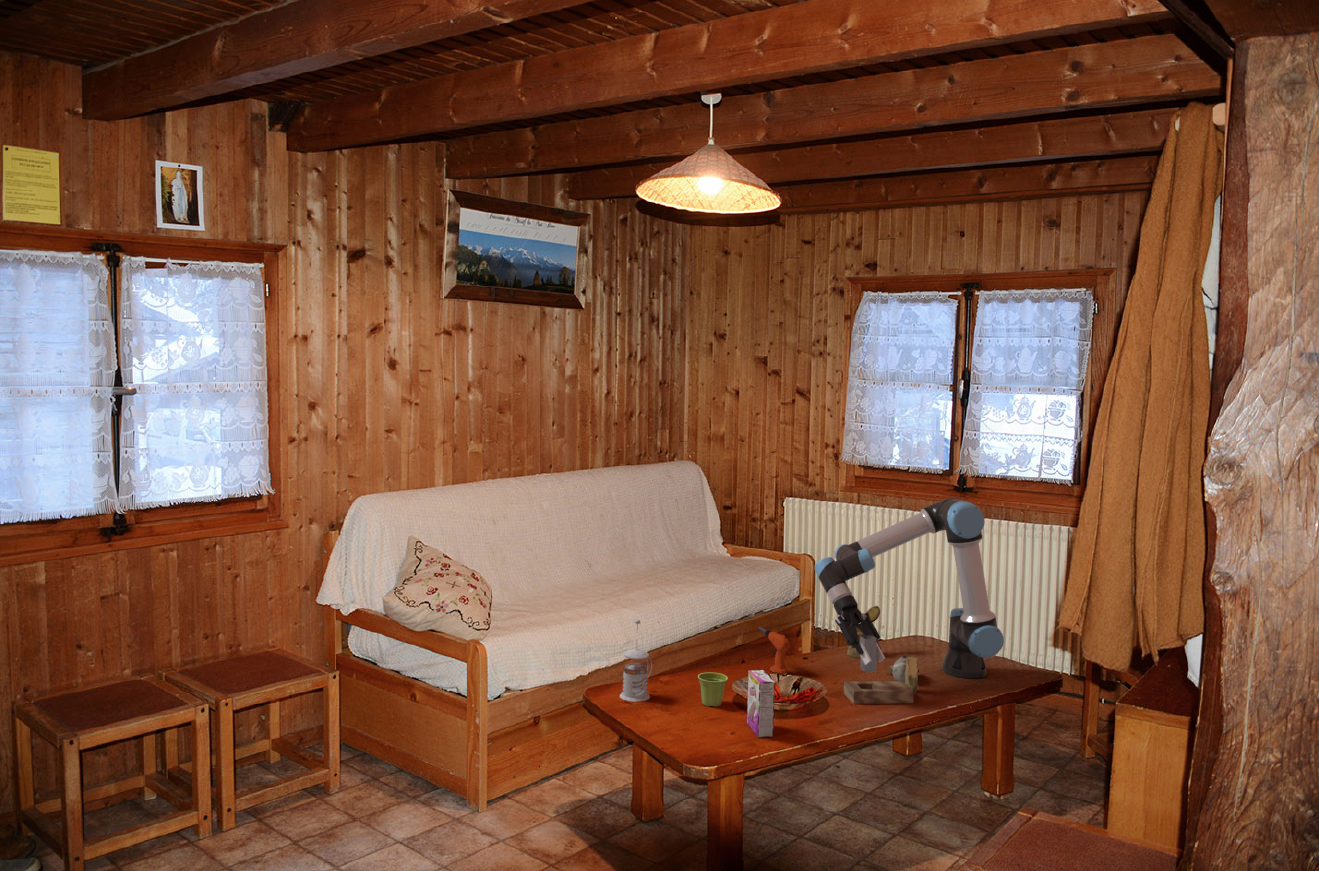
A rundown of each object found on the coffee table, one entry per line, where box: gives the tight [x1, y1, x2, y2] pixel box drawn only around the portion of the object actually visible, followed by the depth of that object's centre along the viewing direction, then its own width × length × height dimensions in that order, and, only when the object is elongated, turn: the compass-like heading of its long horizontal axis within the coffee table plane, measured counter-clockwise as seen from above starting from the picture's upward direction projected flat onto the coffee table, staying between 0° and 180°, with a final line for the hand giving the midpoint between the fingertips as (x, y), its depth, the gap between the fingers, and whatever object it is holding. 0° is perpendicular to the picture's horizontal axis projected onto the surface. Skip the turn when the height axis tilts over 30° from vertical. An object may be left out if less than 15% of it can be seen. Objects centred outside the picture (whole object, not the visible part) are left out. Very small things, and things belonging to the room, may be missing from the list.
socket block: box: [843, 680, 915, 705], centre depth 315 cm, size 20×10×4 cm, turn 97°
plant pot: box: [697, 671, 729, 707], centre depth 304 cm, size 9×9×9 cm
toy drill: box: [758, 626, 791, 673], centre depth 342 cm, size 5×18×14 cm, turn 28°
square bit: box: [859, 635, 878, 673], centre depth 313 cm, size 4×4×11 cm
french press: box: [619, 619, 653, 703], centre depth 308 cm, size 10×12×25 cm
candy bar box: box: [746, 669, 776, 738], centre depth 282 cm, size 11×5×16 cm, turn 12°
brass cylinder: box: [905, 656, 919, 694], centre depth 323 cm, size 4×4×11 cm
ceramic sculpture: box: [888, 655, 920, 683], centre depth 336 cm, size 11×9×15 cm
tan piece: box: [846, 605, 881, 659], centre depth 364 cm, size 9×14×18 cm, turn 125°
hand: (875, 661), depth 310 cm, fingers closed on square bit, 5 cm apart
